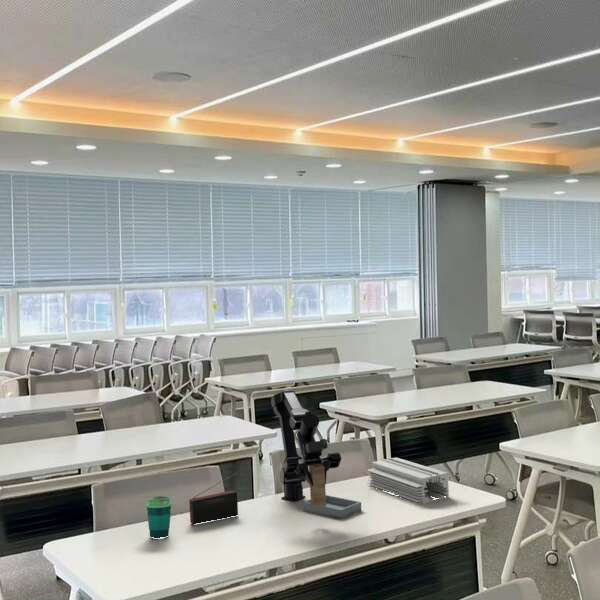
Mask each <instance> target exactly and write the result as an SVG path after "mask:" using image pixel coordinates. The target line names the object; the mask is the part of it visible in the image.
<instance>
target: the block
mask: <svg viewBox="0 0 600 600" xmlns="http://www.w3.org/2000/svg"><path fill="white" fill-rule="evenodd" d="M308 470H309V473H310V475H311V478H312V482H313V486H311V485H310V484H309V490H310V492H309V493H310V495H309V496H310V499H311V505H312V506H313V507H314V508H317V507H324V506H326V495H327V494H326V484H325V470H324V466H323V465H321V464H317V465H309V466H308Z"/></svg>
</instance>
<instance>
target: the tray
mask: <svg viewBox="0 0 600 600" xmlns="http://www.w3.org/2000/svg"><path fill="white" fill-rule="evenodd" d="M302 505H303V506H302V511H304V512H308V513H312V512H313V513H314V514H317V515H322V516H327V517H331V518H336V519H340V520H342V519H345V518H347V517H350V516H352V515H354V513H355V514H357V513H359V512H361V511H362V502H361V501H359V500H353V499H348V498H344V497H339V496H333V495H328V494H326V506H324V507H317V508H314V507H313V506H312V505H311V498H310V499H307V500H305V501H303V502H302ZM313 513H312V514H313Z"/></svg>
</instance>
